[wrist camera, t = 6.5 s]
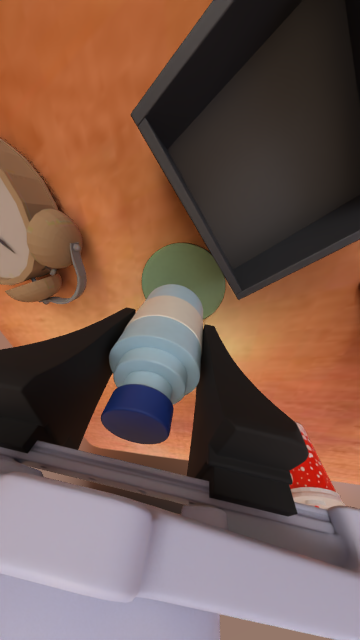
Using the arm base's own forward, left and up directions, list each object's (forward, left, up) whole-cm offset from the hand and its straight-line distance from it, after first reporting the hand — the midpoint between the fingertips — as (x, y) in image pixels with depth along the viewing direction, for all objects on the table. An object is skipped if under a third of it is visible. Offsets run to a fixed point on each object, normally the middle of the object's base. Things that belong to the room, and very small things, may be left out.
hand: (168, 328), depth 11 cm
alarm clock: (+13, +9, -8) cm, 18 cm away
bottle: (0, 0, -2) cm, 2 cm away
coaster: (0, 0, -7) cm, 7 cm away
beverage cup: (-31, -1, -8) cm, 32 cm away
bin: (+4, -10, -7) cm, 13 cm away
